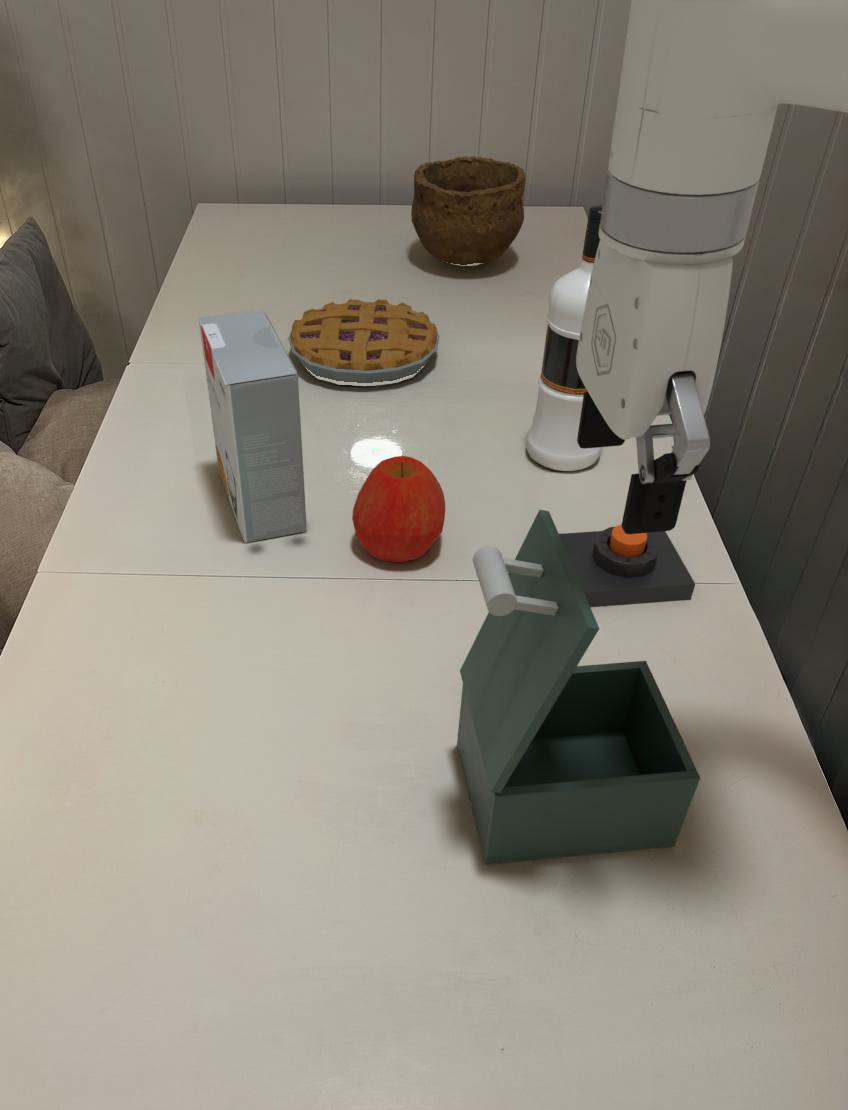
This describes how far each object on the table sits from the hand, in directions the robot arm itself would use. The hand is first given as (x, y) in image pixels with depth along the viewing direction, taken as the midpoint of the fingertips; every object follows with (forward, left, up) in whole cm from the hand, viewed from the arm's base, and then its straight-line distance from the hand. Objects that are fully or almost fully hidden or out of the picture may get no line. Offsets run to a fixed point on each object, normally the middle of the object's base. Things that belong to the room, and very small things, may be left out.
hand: (622, 485), depth 61 cm
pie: (+8, -79, -30) cm, 85 cm away
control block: (-14, -26, -30) cm, 42 cm away
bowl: (-13, -112, -30) cm, 117 cm away
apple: (+9, -34, -30) cm, 47 cm away
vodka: (-14, -50, -30) cm, 60 cm away
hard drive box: (+24, -44, -30) cm, 59 cm away
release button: (-14, -26, -26) cm, 40 cm away
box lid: (+5, +2, -13) cm, 14 cm away
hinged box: (0, +2, -30) cm, 30 cm away
